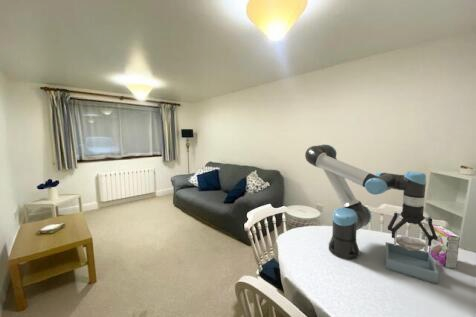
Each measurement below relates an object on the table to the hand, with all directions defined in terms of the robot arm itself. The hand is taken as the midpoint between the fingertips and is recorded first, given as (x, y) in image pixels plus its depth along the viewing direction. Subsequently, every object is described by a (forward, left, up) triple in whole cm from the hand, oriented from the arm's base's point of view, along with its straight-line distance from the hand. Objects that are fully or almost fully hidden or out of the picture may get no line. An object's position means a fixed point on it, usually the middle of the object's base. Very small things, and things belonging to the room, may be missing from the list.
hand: (409, 247), depth 97 cm
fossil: (0, 0, -1) cm, 1 cm away
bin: (0, 0, -9) cm, 9 cm away
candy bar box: (+14, +13, -10) cm, 21 cm away
